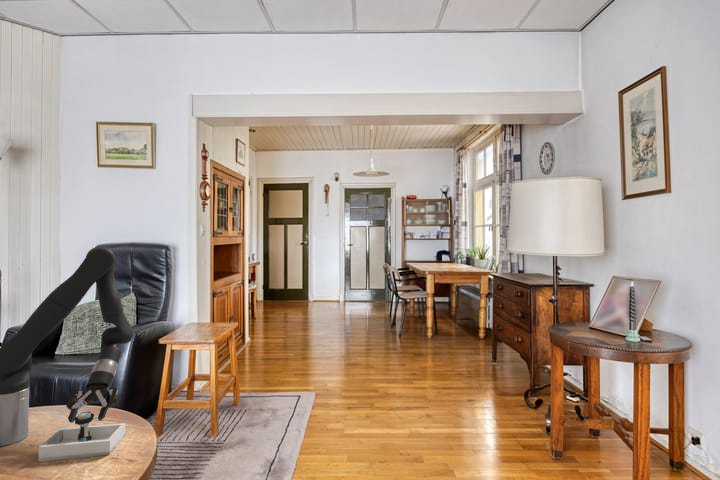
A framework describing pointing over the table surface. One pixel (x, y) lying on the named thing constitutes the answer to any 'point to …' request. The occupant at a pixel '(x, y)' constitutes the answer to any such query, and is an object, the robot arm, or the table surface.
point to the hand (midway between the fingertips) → (85, 420)
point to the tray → (69, 447)
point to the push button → (84, 426)
